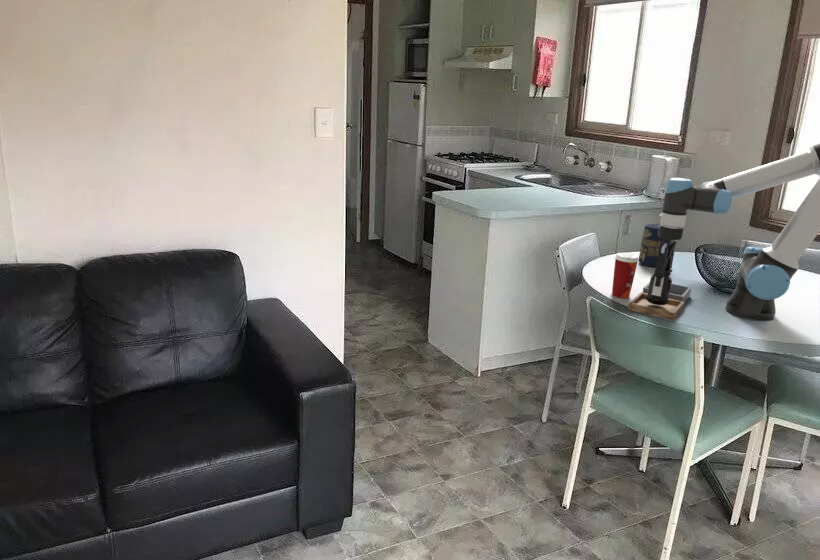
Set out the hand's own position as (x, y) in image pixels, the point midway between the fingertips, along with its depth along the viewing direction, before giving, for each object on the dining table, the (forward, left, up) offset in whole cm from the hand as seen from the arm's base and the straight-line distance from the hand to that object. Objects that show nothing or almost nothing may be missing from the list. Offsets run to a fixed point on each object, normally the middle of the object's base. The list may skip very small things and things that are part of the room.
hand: (659, 292), depth 214 cm
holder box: (0, -17, -6) cm, 18 cm away
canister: (+16, -57, -6) cm, 59 cm away
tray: (0, 0, -6) cm, 6 cm away
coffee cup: (+14, -6, -6) cm, 17 cm away
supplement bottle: (0, 0, -4) cm, 4 cm away
